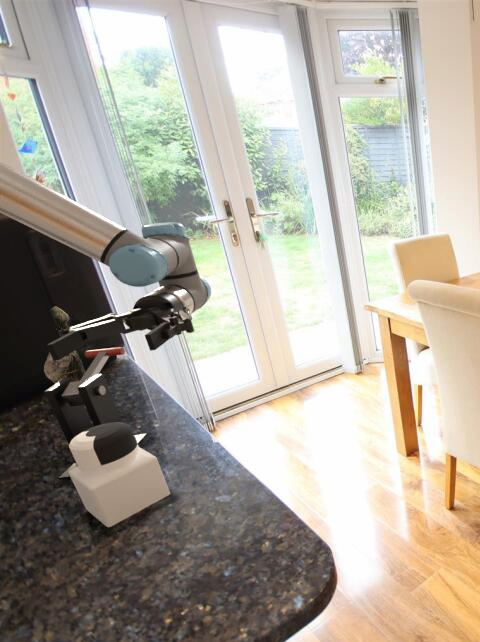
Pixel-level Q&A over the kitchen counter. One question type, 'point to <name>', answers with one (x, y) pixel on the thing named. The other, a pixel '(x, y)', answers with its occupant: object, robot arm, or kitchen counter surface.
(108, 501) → the medicine bottle
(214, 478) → the kitchen counter surface
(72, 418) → the bracket
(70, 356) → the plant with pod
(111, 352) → the lever
